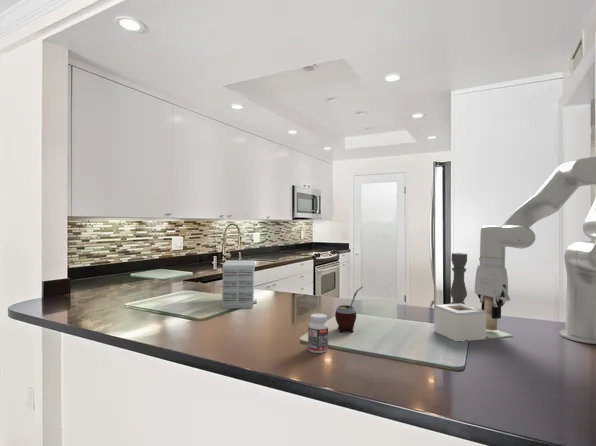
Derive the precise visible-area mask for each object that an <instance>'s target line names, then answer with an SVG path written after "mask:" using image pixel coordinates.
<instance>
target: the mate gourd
mask: <svg viewBox="0 0 596 446" xmlns="http://www.w3.org/2000/svg"><path fill="white" fill-rule="evenodd" d="M363 287H364V286H361V287H359V288H358V289H357V290H356V291H355V292H354V294H353V297H352V299H351V303H350V305H345V304H343V305H338V307H336V309H335V314H334V315H335V322H336V324H337V325H338V326H337V329H338V330H339V333H341V334H342V333H345V332H349V333H351V334H353V333H354V332H355V331H354V327H355V323H356V320H357V311H356V309H355V308H354V306H353V305H354V301H355V299H356V296H357V294H358V292H359V291H360V290H361V289H362V288H363Z"/></svg>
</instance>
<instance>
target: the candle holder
mask: <svg viewBox="0 0 596 446" xmlns="http://www.w3.org/2000/svg"><path fill="white" fill-rule="evenodd" d="M451 262H452V266H453V267H452V268H451V271H453V280H452V283H451V286H450V287H451V288H450V292H449V293H450V297H451V298H452V301H451V302H450V304H459V303H462V304H465V305H467V304H466V302H465V299H466V298H467V296H468V292H467V287H466V282H465V274H466V272H467V268H466V265H467V263H468V253H465V252H451Z"/></svg>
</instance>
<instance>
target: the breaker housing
mask: <svg viewBox="0 0 596 446" xmlns="http://www.w3.org/2000/svg"><path fill="white" fill-rule="evenodd" d="M465 304H466V303H465ZM465 304H462V303H459V304H451V303H446V304H445V303H444V304H434V315H433V316H434V319H433V320H434V323H433V325H434V326H433V328H434V329H433V332H435V333H437V334H439V335H441V336H443V337H445V336H446V337H445V338H447V337H448V339H450V340H452V339H453V340H452V341H454V340H455V341H454V342H456V341H462V340H468V341H467V342H469V341H470V342H471V341H481V340H486V339H487V337H486V311H484V310H481V308H477V307H474V306H471V305H468V304H466V305H465ZM462 342H463V341H462Z"/></svg>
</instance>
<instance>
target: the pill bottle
mask: <svg viewBox="0 0 596 446" xmlns="http://www.w3.org/2000/svg"><path fill="white" fill-rule="evenodd" d="M309 318H310V322H309V323H308V329H307V349H308V351H309V352H311V353H315V354H322V353H326V352H327V351H328V350H329V325H328V323H327V320H328V316H327V314H324V313H312V314H310V317H309Z"/></svg>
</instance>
